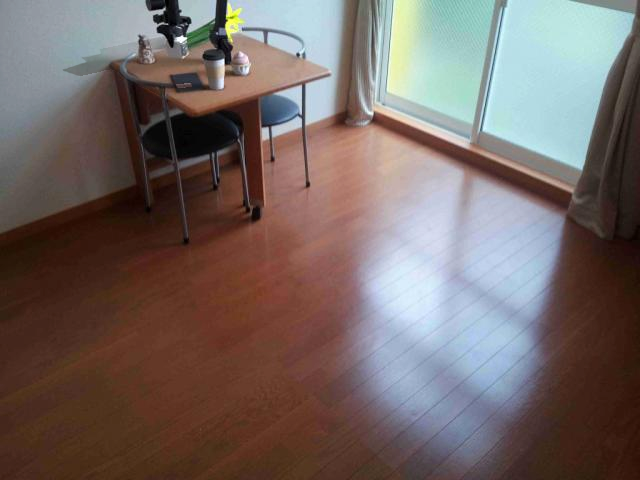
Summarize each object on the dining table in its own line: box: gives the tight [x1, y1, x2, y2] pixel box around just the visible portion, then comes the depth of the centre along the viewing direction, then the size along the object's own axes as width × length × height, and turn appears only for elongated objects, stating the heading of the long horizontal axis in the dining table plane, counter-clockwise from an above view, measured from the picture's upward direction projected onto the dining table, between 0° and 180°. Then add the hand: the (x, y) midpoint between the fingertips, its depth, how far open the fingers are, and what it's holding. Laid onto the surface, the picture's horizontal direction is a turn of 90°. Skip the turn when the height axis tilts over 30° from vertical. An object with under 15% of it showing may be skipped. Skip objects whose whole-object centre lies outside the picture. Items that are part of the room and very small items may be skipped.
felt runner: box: [170, 71, 206, 93], centre depth 246 cm, size 11×20×1 cm, turn 20°
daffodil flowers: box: [185, 2, 246, 51], centre depth 283 cm, size 17×15×35 cm
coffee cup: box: [201, 48, 226, 91], centre depth 238 cm, size 9×9×15 cm
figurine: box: [137, 33, 156, 65], centre depth 262 cm, size 7×7×12 cm
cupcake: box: [229, 50, 252, 77], centre depth 253 cm, size 9×9×10 cm
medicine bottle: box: [164, 27, 190, 60], centre depth 248 cm, size 7×7×12 cm
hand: (176, 45), depth 249 cm, fingers closed on medicine bottle, 7 cm apart
